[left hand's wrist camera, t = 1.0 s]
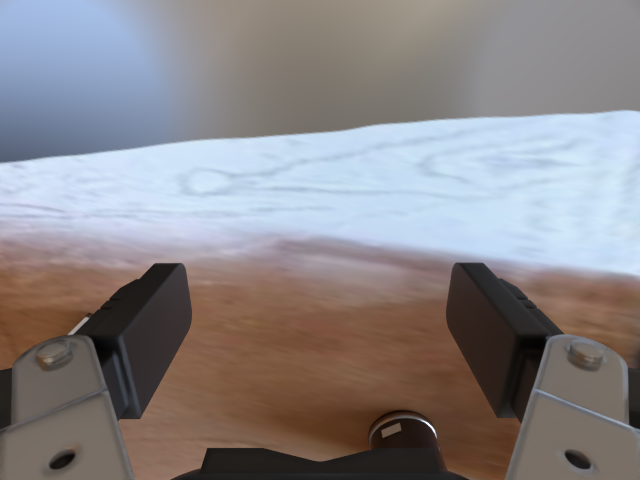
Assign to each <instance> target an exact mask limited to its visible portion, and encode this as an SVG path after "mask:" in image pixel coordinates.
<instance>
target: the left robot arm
mask: <svg viewBox="0 0 640 480" xmlns="http://www.w3.org/2000/svg"><path fill="white" fill-rule="evenodd" d="M446 319H447V324H448V328H449V330H450V332H451V334H452V336H453V337H454V339H455V341H456V343H457V345H458V347H459V348H460V350H461V352H462V354H463V356H464V358H465V359H466V361H467V363H468V365H469V367H470V369H471V370H472V372H473V374H474V376H475V378H476V380H477V381H478V383H479V385H480V387H481V389H482V391H483V392H484V394H485V396H486V398H487V400H488V402H489V403H490V405H491V407H492V409H493V411H494V413H495V414H496V416H497V418H518V420H519V421H520V423H521V428H520V431H519V434H518V437H517V441H516V444H515V447H514V451H513V454H512V457H511V461H510V464H509V467H508V471H507V474H506V477H505V480H640V370H638V369H633V368H627V365H626V363H625V361H624V360H623V359H622V358H621V357H620V356H619V355H618V354H617V353H616V352H614V351H613V350H611V349H610V348H608V347H607V346H605V345H603V344H601V343H598V342H596V341H594V340H591V339H588V338H584V337H581V336H576V335H565V334H564V333H563V332H562V331H561V330H560V329H559V328H558V327H557V326H556V325H555V324H554V323H553V322H552V321H551V320H550V319H549V318H548V317H547V316H546V315H545V314H544V313H543V312H542V311H541V310H540V309H537V306H536V305H535V304H534V303H533V302H532V301H531V300H528V297H527V296H526V295H525V294H524V293H523V292H521V291H520V290H519V289H518V288H517V287H516V286H514V285H512V284H510V283H508V282H506V281H505V280H503V279H498V278H497V277H496V276H495V275H494V274H493V273H492V272H491V271H490V270H489V268H488V267H487V266H486V265H485V264H484V263H455V264H454V266H453V269H452V274H451V280H450V287H449V294H448V301H447V307H446ZM191 320H192V308H191V301H190V294H189V288H188V281H187V274H186V269H185V267H184V265H183V264H182V263H155V264H154V265H153V266H152V267H151V268H150V269H149V270H148V271H147V272H146V273H145V274H144V275H143V276H142V277H141V278H140V279H136V280H134V281H132V282H130V283H129V284H127V285H125V286H123V287H121V288H120V289H119V290H118V291H117V292H116V293H115V294H114V295H113V296H112V297H111V298H110V300H109V301H106V302H105V303H104V304H103V305H102V306H101V309H100V310H97V311H96V312H95V313H94V314H93V315H92V316H91V317H90V318H89V319H88V320H87V321H86V322H85V323H84V324H83V325H82V326H81V327H80V328H79V329H78V330H77V331H76V332H75V333H74V334H73V335H64V336H59V337H56V338H52V339H49V340H46V341H44V342H42V343H39V344H37V345H35V346H33V347H32V348H30V349H29V350H27V351H26V352H24V353H23V354H22V355H21V356H20V357H19V358H18V359H17V360H16V361H15V363H14V365H13V368H10V369H5V370H0V480H135V477H134V474H133V471H132V467H131V464H130V461H129V457H128V454H127V451H126V447H125V444H124V441H123V437H122V434H121V431H120V428H119V424H118V421H119V419H140V418H141V416H142V414H143V412H144V411H145V409H146V407H147V405H148V403H149V402H150V400H151V398H152V396H153V394H154V392H155V391H156V389H157V387H158V385H159V383H160V382H161V380H162V378H163V376H164V374H165V372H166V371H167V369H168V367H169V365H170V363H171V362H172V360H173V358H174V356H175V354H176V353H177V351H178V349H179V347H180V345H181V343H182V342H183V340H184V338H185V336H186V334H187V333H188V331H189V328H190V325H191ZM368 440H369V447H370V450H368V451H364V452H360V453H356V454H352V455H348V456H344V457H340V458H336V459H332V460H328V461H323V462H317V461H312V460H308V459H304V458H300V457H296V456H292V455H288V454H284V453H280V452H276V451H272V450H268V449H264V448H207V451H206V454H205V457H204V461H203V464H202V467H201V468H200V469H197V470H193V471H190V472H188V473H185V474H182V475H179V476H177V477H175V478H173V479H171V480H469V479H467V478H465V477H463V476H461V475H458V474H455V473H452V472H450V471H447V468H446V465H445V462H444V459H443V456H442V453H441V450H440V447H439V444H438V441H437V436H436V433H435V430H434V427H433V425H432V423H431V422H430V421H429V420H428V419H427V418H426V417H424V416H422V415H420V414H418V413H414V412H407V411H402V412H394V413H391V414H388V415H385V416H383V417H382V418H380V419H379V420H377V421H376V422H375V423H374V424H373V426H372V427H371V429H370V431H369V435H368Z"/></svg>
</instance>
